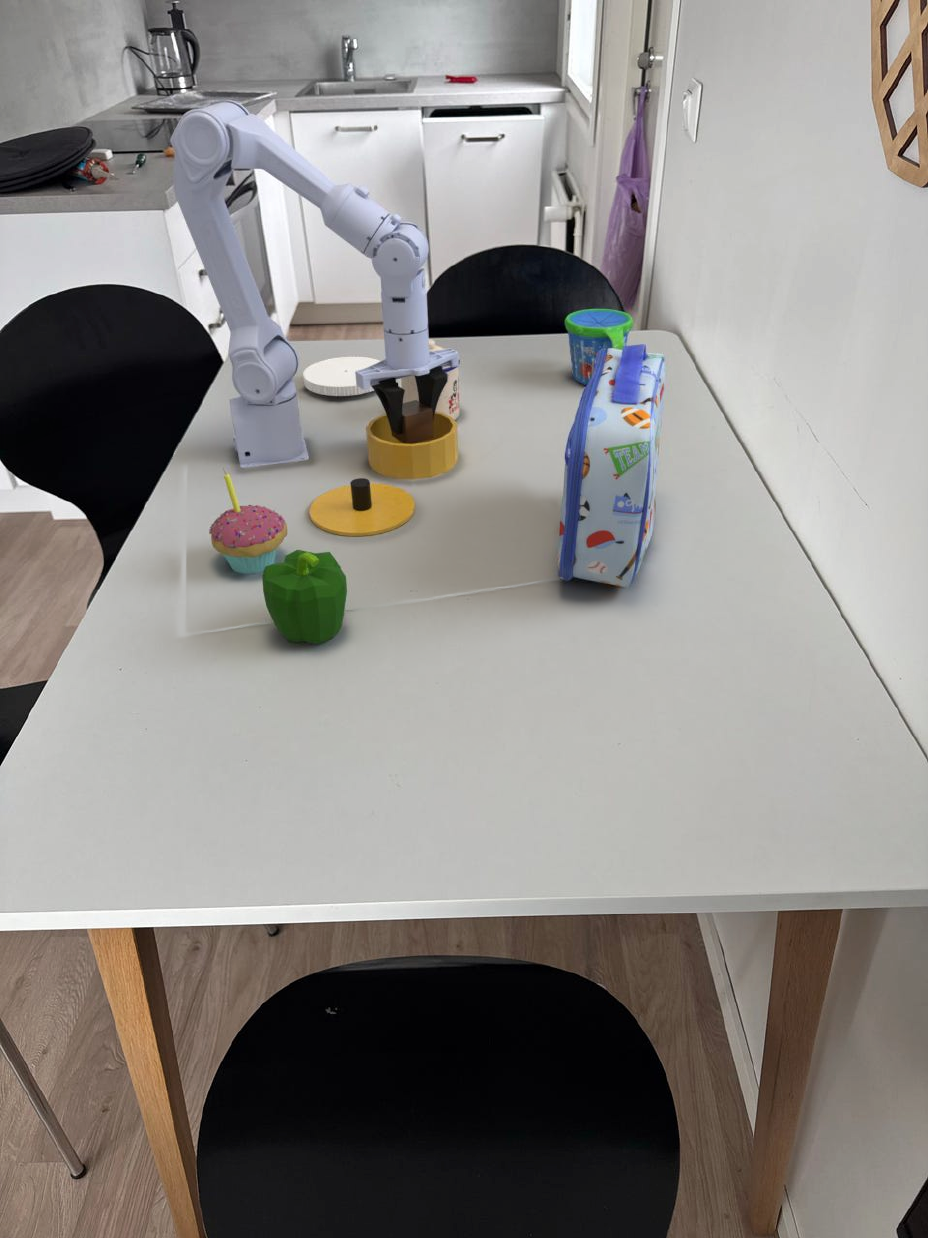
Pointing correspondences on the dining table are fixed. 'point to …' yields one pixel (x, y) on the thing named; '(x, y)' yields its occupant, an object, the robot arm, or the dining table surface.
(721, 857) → the dining table surface
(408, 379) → the teacup with lid
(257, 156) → the robot arm
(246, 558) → the cupcake
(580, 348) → the snack cup
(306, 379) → the plastic lid
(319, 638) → the bell pepper
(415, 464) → the tin
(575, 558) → the lunch box
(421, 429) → the walnut block
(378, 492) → the tin lid
